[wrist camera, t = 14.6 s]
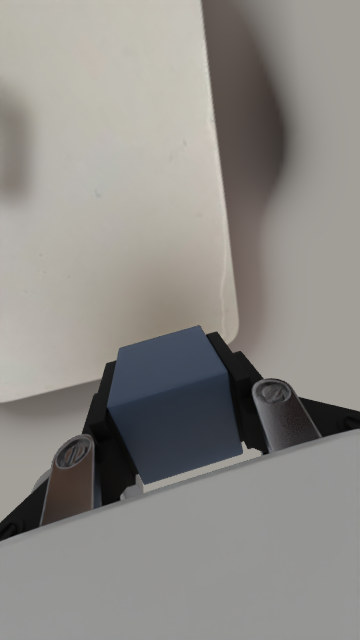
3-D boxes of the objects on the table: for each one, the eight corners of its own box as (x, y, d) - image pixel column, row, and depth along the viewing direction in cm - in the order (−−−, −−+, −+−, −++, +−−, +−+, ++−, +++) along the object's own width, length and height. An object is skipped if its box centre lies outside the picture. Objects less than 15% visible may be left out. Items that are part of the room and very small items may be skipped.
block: (214, 389, 13) (244, 454, 9) (143, 410, 12) (143, 486, 9) (199, 324, 11) (227, 370, 7) (118, 347, 11) (105, 406, 7)
